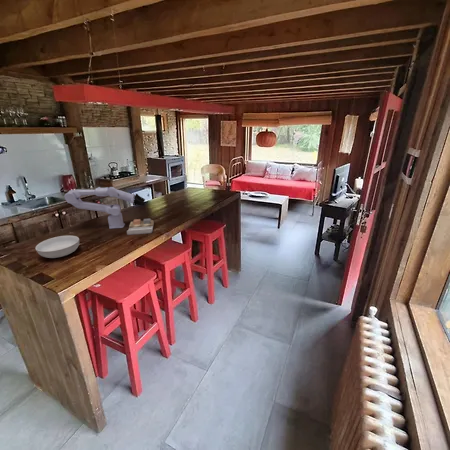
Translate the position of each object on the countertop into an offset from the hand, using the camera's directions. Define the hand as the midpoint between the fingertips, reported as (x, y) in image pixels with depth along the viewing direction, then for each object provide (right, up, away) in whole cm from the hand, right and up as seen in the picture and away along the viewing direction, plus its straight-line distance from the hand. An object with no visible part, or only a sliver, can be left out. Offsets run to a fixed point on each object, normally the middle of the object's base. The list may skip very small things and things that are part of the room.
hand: (144, 202), depth 184 cm
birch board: (-2, -18, 0) cm, 18 cm away
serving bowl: (-35, -33, -39) cm, 62 cm away
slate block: (+2, -15, 0) cm, 15 cm away
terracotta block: (-5, -15, -1) cm, 16 cm away
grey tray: (0, -21, -9) cm, 23 cm away
